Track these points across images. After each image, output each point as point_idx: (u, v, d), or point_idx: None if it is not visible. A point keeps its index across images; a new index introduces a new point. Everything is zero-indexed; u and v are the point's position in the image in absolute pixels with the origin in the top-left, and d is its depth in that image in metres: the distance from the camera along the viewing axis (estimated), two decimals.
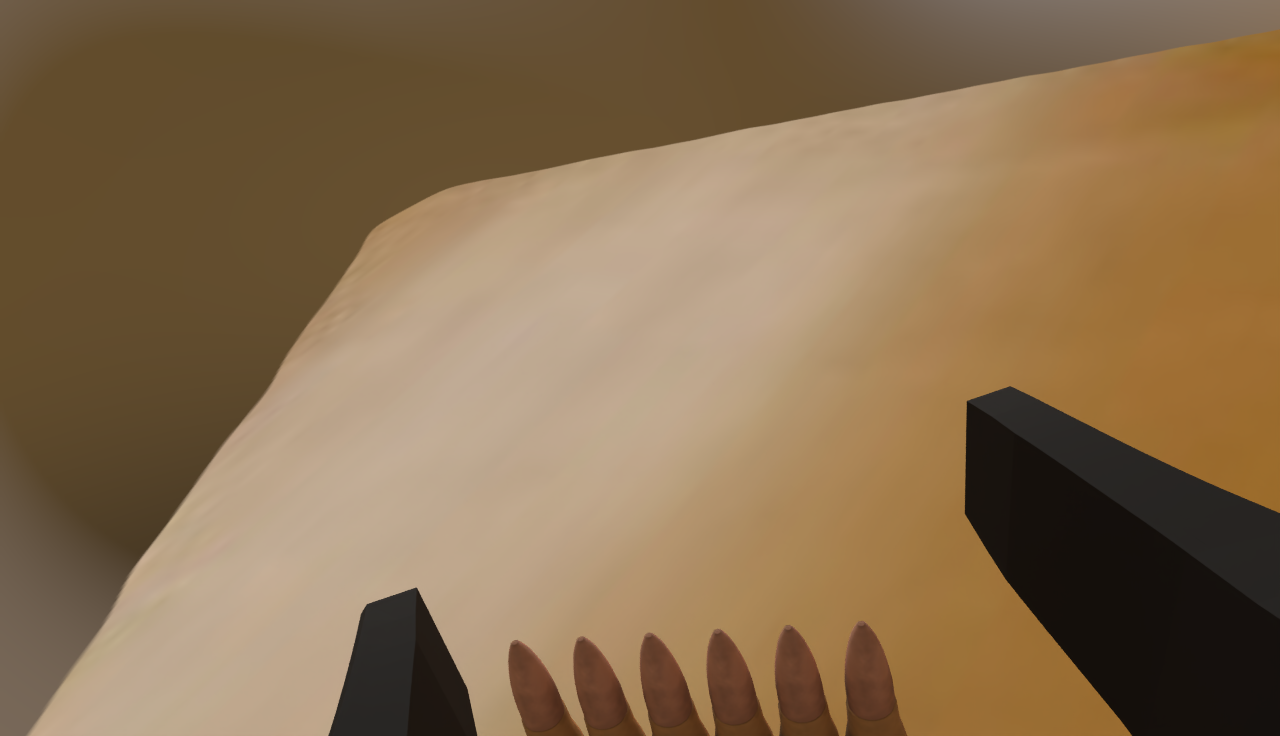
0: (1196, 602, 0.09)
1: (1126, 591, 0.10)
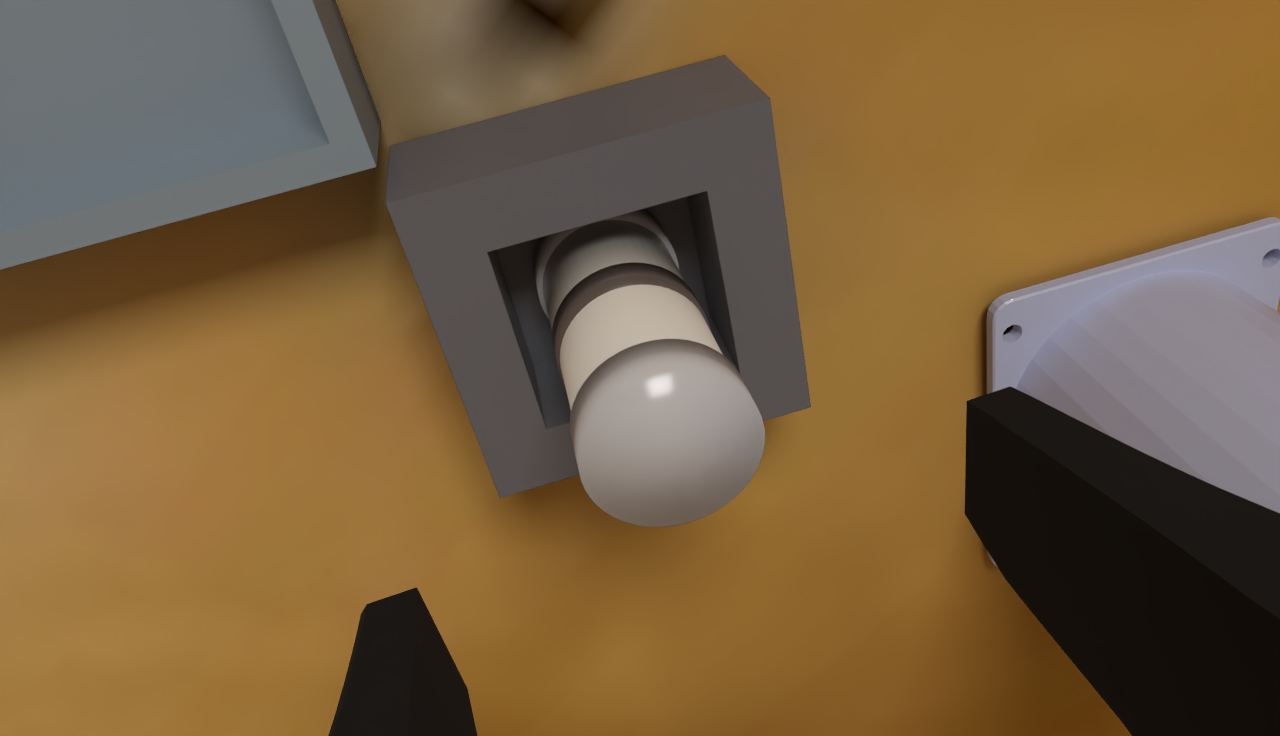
0: (1197, 602, 0.09)
1: (1127, 592, 0.10)
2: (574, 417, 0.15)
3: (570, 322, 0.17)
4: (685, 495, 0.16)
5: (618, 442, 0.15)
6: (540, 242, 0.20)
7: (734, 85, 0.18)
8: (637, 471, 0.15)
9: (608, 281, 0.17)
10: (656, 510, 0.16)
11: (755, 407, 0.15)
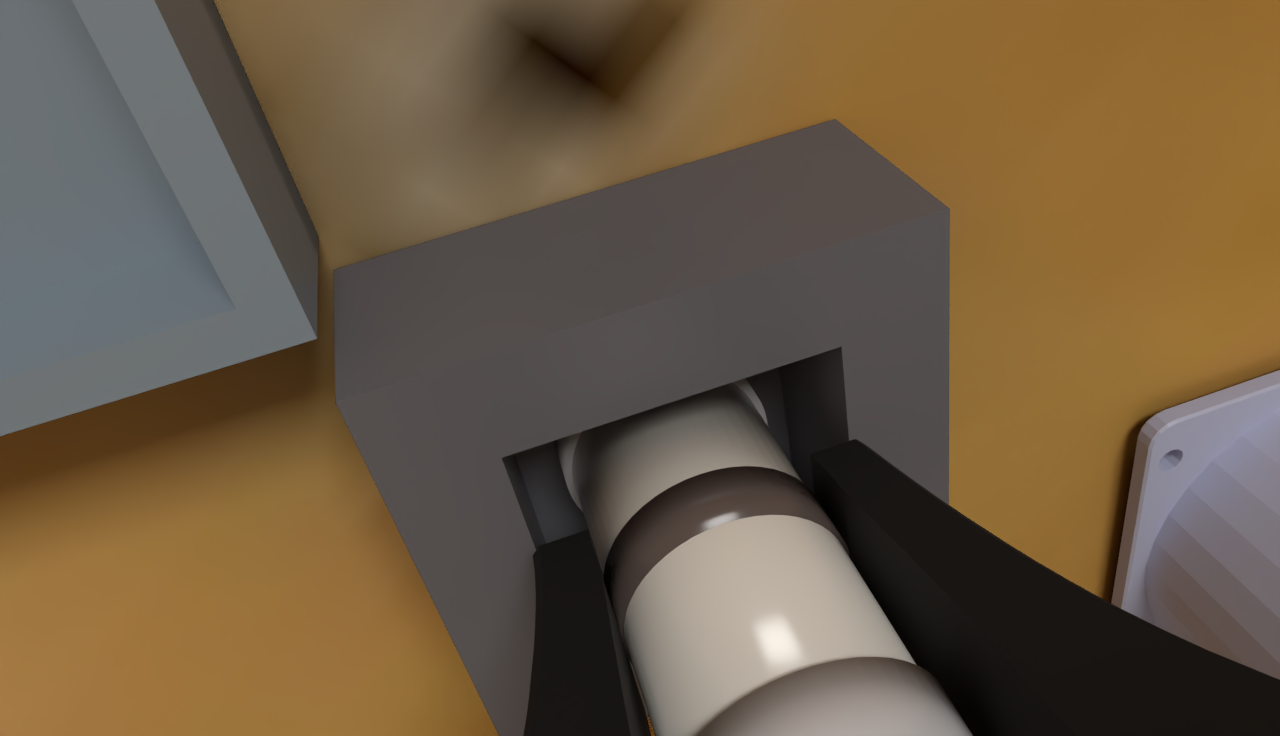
0: (991, 679, 0.09)
1: (942, 660, 0.10)
2: None
3: (644, 577, 0.11)
4: None
5: None
6: None
7: (876, 179, 0.12)
8: None
9: (701, 507, 0.11)
10: None
11: None
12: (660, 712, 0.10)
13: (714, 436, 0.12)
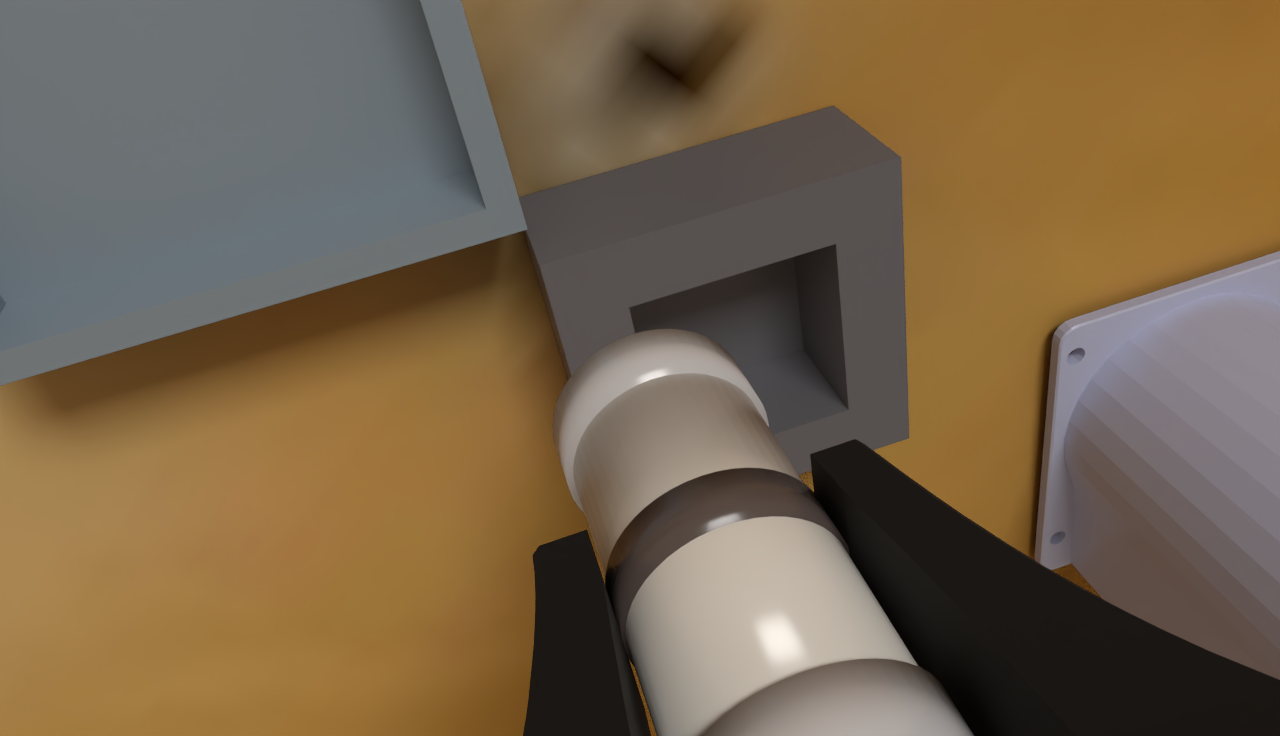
0: (991, 679, 0.09)
1: (942, 660, 0.10)
2: None
3: (646, 578, 0.11)
4: None
5: None
6: (566, 399, 0.14)
7: (858, 141, 0.19)
8: None
9: (703, 509, 0.11)
10: None
11: None
12: (662, 714, 0.10)
13: (716, 437, 0.12)
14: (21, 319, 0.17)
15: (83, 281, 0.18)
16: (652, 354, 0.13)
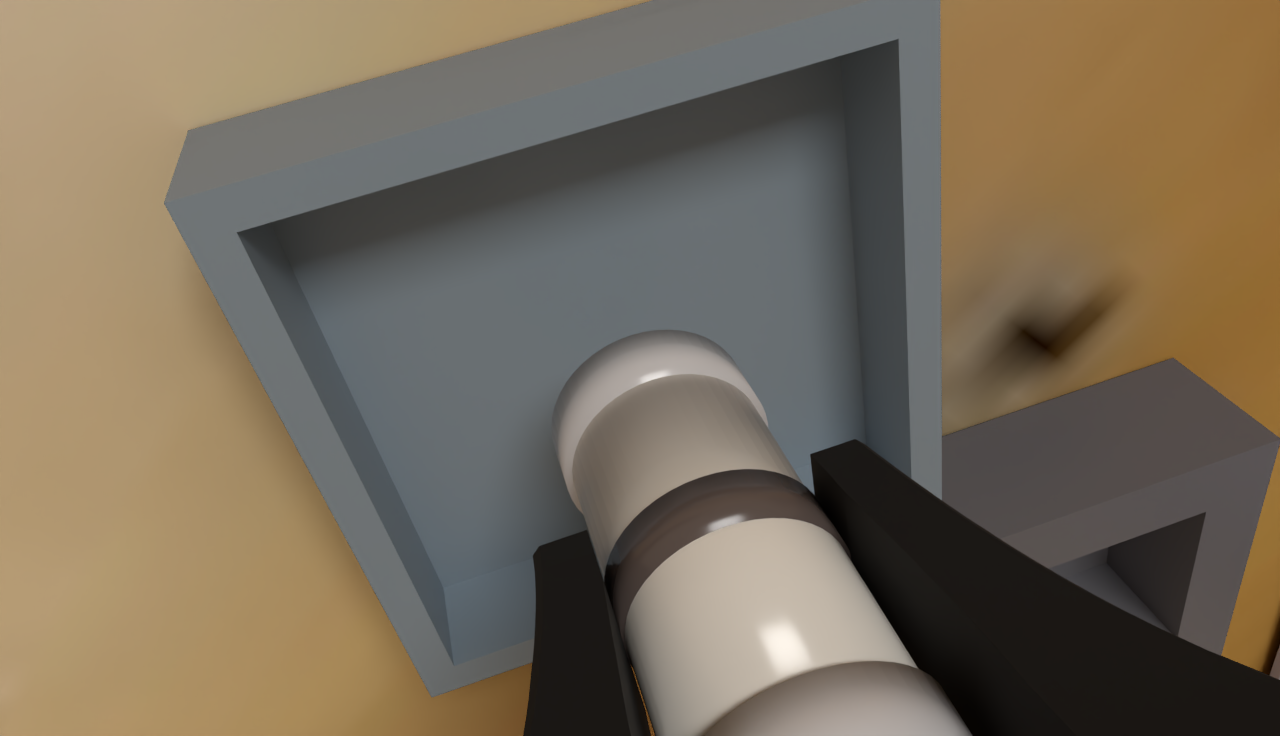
0: (991, 679, 0.09)
1: (942, 660, 0.10)
2: None
3: (645, 581, 0.11)
4: None
5: None
6: (565, 401, 0.13)
7: (1223, 412, 0.20)
8: None
9: (702, 511, 0.11)
10: None
11: None
12: (661, 716, 0.10)
13: (715, 439, 0.12)
14: (474, 613, 0.18)
15: (514, 565, 0.19)
16: (651, 354, 0.13)
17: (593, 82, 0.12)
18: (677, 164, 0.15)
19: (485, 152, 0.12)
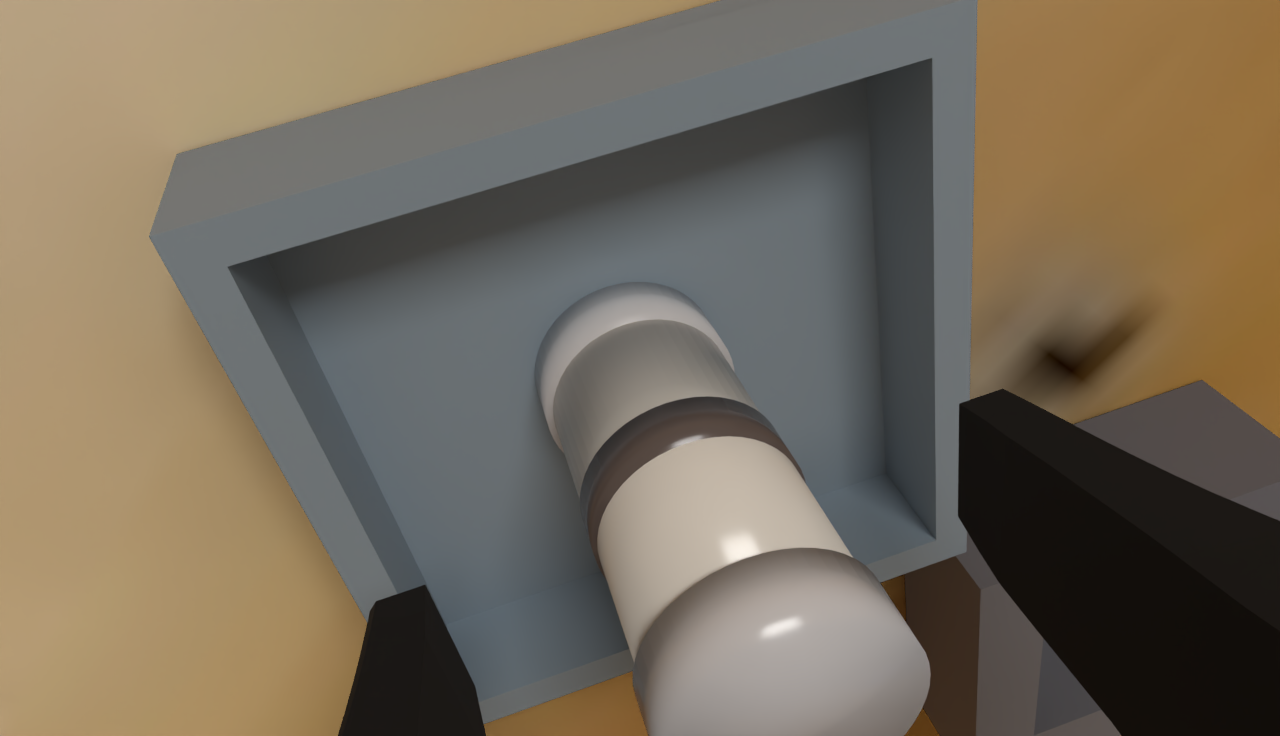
0: (1186, 606, 0.09)
1: (1116, 595, 0.10)
2: (643, 672, 0.10)
3: (614, 494, 0.12)
4: None
5: (720, 720, 0.10)
6: (547, 347, 0.15)
7: (1257, 438, 0.19)
8: None
9: (666, 431, 0.12)
10: None
11: (922, 652, 0.10)
12: (627, 608, 0.11)
13: (680, 372, 0.13)
14: (479, 652, 0.17)
15: (520, 600, 0.18)
16: (625, 302, 0.14)
17: (608, 105, 0.11)
18: (693, 187, 0.14)
19: (493, 180, 0.11)
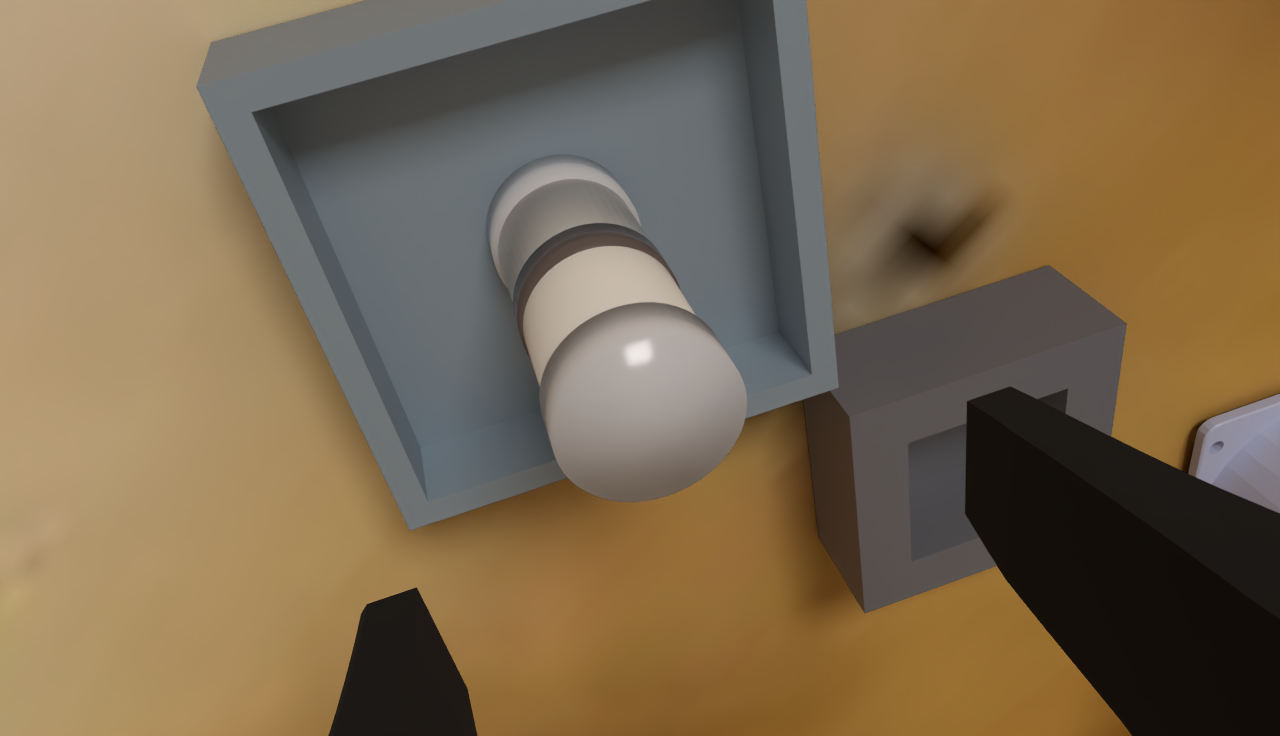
0: (1196, 602, 0.09)
1: (1127, 592, 0.10)
2: (544, 389, 0.14)
3: (533, 288, 0.16)
4: (664, 467, 0.15)
5: (594, 413, 0.14)
6: (494, 204, 0.19)
7: (1083, 304, 0.23)
8: (613, 444, 0.14)
9: (573, 243, 0.16)
10: (634, 484, 0.15)
11: (737, 372, 0.14)
12: (538, 359, 0.15)
13: (589, 210, 0.17)
14: (446, 464, 0.21)
15: (480, 429, 0.22)
16: (553, 167, 0.18)
17: None
18: (605, 77, 0.18)
19: (444, 52, 0.15)
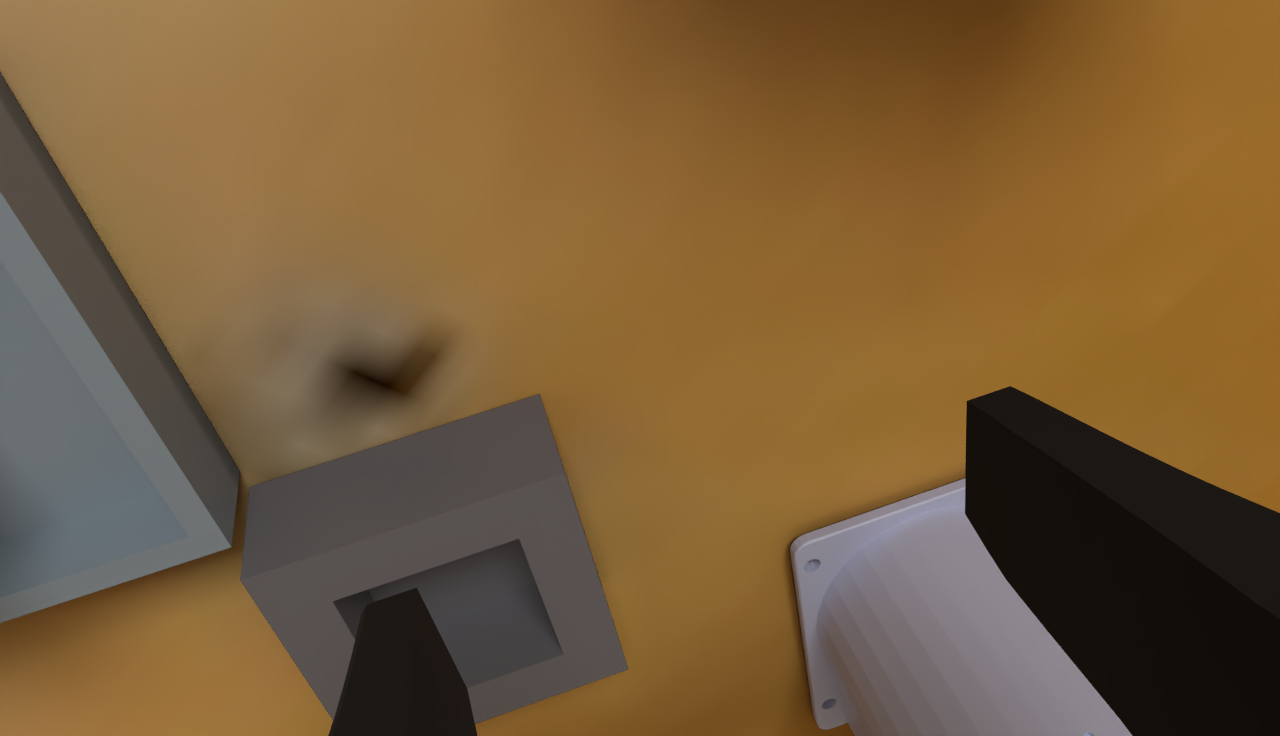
0: (1196, 602, 0.09)
1: (1127, 592, 0.10)
2: None
3: None
4: None
5: None
6: None
7: (540, 446, 0.21)
8: None
9: None
10: None
11: None
12: None
13: None
14: None
15: None
16: None
17: None
18: None
19: None
